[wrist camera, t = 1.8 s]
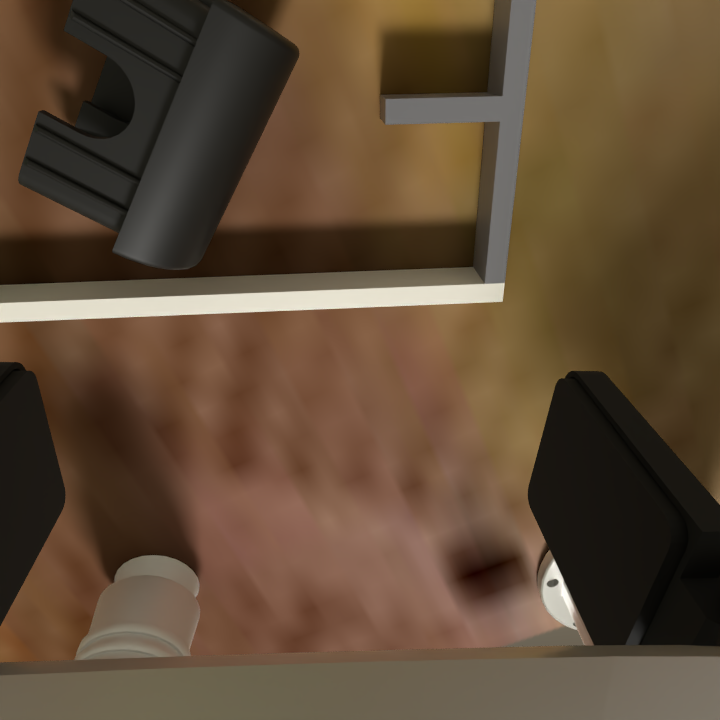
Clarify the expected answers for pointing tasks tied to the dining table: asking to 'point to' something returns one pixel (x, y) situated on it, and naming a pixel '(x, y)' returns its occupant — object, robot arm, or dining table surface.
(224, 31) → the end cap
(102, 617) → the candle
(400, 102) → the finger lane
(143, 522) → the dining table surface
